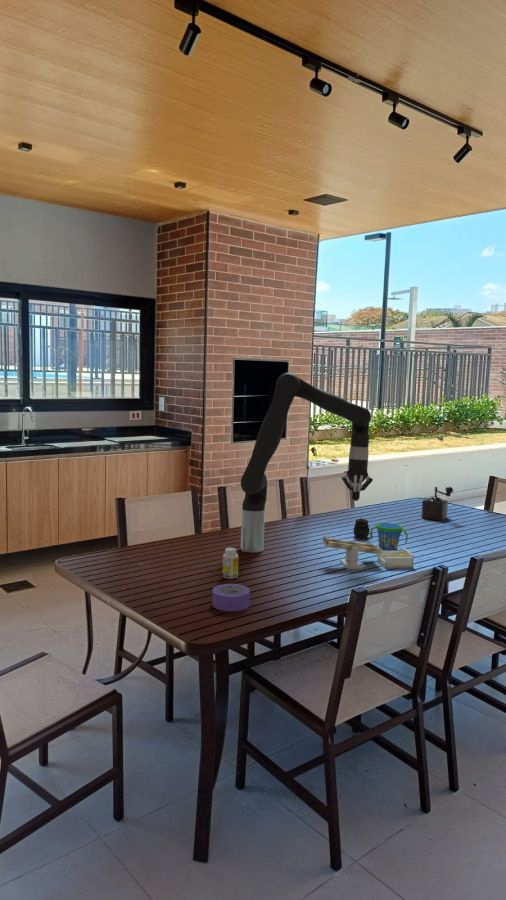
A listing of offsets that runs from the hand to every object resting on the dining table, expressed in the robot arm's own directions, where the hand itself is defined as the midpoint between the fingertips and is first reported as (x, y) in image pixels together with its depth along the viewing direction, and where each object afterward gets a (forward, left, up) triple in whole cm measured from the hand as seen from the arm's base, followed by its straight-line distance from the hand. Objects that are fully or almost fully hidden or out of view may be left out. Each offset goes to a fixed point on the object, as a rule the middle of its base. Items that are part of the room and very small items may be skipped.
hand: (355, 500), depth 258 cm
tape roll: (-54, -52, -24) cm, 78 cm away
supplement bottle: (-52, -24, -23) cm, 61 cm away
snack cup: (+18, +11, -23) cm, 32 cm away
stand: (-4, -11, -23) cm, 26 cm away
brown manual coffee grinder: (+64, +68, -23) cm, 97 cm away
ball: (+18, -11, -21) cm, 30 cm away
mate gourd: (+12, +31, -23) cm, 41 cm away
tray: (+14, -11, -23) cm, 29 cm away
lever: (-4, -8, -17) cm, 19 cm away
